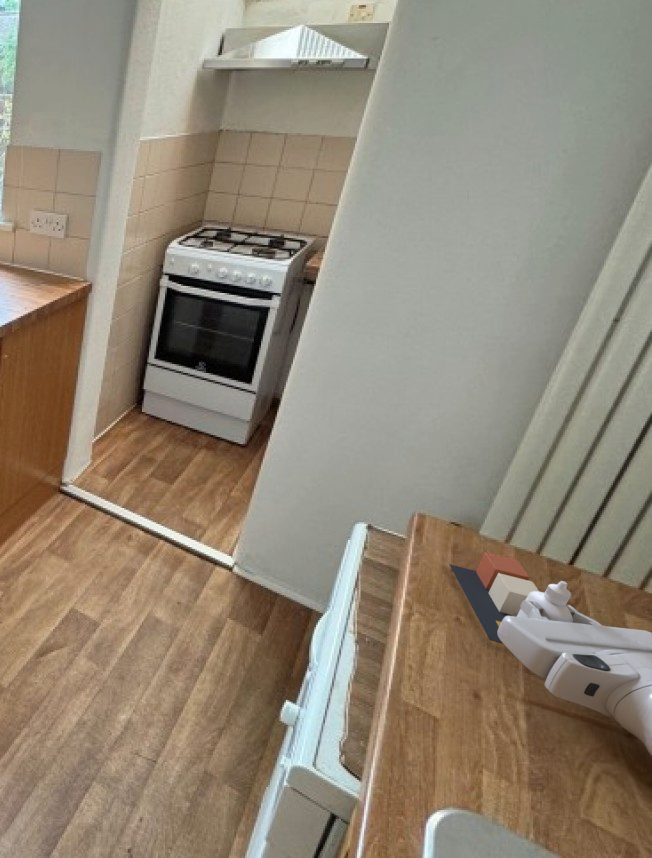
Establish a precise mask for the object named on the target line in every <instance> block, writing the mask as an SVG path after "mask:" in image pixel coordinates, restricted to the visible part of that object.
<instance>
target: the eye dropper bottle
mask: <svg viewBox="0 0 652 858" xmlns="http://www.w3.org/2000/svg"><path fill="white" fill-rule="evenodd" d="M567 587H568V583H567V582H566V581H564V580H560V581H559V582H558V583H557V584H556V583H549V584H548V585H547V587H546V589H545V591H533V592H530V593H529V595H528V596H527V598H526V601H534V602H537V603H538V605H540V606H541V607H542V608H543V609H544V610H543V612H542V613H540V614H541V616H543V617H547V618H548V619H549V620H552V621H562V622H571V623H572V622H573V618H572V615H571V613H570V611H569V609H568V608H567V607H566V605H568V602H569V600H570V599H571V597H572V593H571V592H570V590H569V589H567ZM517 617H525V618H528V615H526V614H525V613H524V612H523V611H522V610H521V609H520V611H519V613H518V615H517Z"/></svg>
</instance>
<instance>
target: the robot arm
mask: <svg viewBox="0 0 652 858" xmlns="http://www.w3.org/2000/svg"><path fill="white" fill-rule="evenodd" d="M566 607H567V608H568V609H569V611H570V613H571V615H572V618H573V622H572V623H571V622H562V621H552V620H549V619H548V618H547V617H543V616H541V614H540V613H542V612H543V610H544V609H543V608H542V607H541V606H540V605H538V603H537V602H534V601H526V600H524V601H523V602H522V604H521V605H520V608H521V610H522V611H523V612H524V613H525V614H526V615H528V618H525V617H516V616H505V617H504V618H503V620H502V622H501V623H500V626H499V628H498V632H497V634H498V637H499V639H500V640H501V641H502V643H501V644H503V645H504V647H506V649H508V650H509V652H510V653H511V654H512V655H513V656H514V657H515V658H516V659H517V660H518V661H519V662H520V663H521V664H522V665H523V666H524V667H526V669H528V670H529V671H530V672H532V673H533V674H534V675H536V676H538V677H539V678H542V679H544V680H545V681H544V687H545V688H546V689H547V691H548V692H549V693H550V694H552V696H554V697H556V698H558V699H560V700H563V701H567V702H569V703H573V704H576V705H580V706H581V707H582V706H583V707H585V708H587V709H590V710H593V711H595V712H597V713H599V714H601V715H604V716H606V717H609V718H613V719H614V720H615V721H616V723H618V724H619V725H620V726H621V727H622V728H623V729H624V730H626V731H628V733H630V734H632V735H633V736H634V737H636V738H637V739H638V740H639V741H640V742H641V743H642V745H644V747H645V749H646V750H647V752H648V753H649V754H650V756H651V757H652V632H651V631H649V630H644V629H635V628H625V627H616V626H608V625H607V626H606V625H603V624H601V623H600V622H598V621H597V620H595V619H593V618H591V617H589V616H587V615H586V614H584V613H582V612H579V611H578V610H576V608H575V607H573V606H572V605H570V604H566Z"/></svg>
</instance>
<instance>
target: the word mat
mask: <svg viewBox="0 0 652 858" xmlns="http://www.w3.org/2000/svg"><path fill="white" fill-rule="evenodd" d="M448 565H449V567H450V569H451V571H452V572H453V575H454V576H455V578H456V580H457V582H458V585H460V588H461V589H462V591H463V593H464V595H465V597H466V599H467V601H468V602H469V604H470V606H471V608H472V611H473V612H474V615H476V618H477V619H478V622H479V623H480V625H481V627H482V628H483V630H484V632H485V634H486V636H487V638H488V640H489V641H492V642H496V643H499V644H503V643H502V641H501V640H500V639H499V637H498V634H497V632H498V628H499V626H500V623H501V622H502V620H503V618H504V617H505V616H513V615H509V614H505V613H502V612H499V610H498V609H497V607H496V605H495V603H494V602H493V600H492V598H491V597H490V595H489V591H490V590H489V589H486V588H485V586H484V585H483V583H482V581H481V580H480V578H479V576H478V574H477V573H476V570H475V569H470V568H466V567H463V566H459V565H454V564H448Z"/></svg>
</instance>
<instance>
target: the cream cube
mask: <svg viewBox="0 0 652 858" xmlns="http://www.w3.org/2000/svg"><path fill="white" fill-rule="evenodd" d="M533 591H539V589H538V587H537V586H536V584H535V583H534V582H533V581H531V580H524V579H520V578H516V577H512V576H508V575H504V574H500V573H498V574H497V576H496V579H495V581H494V583H493V585H492V587H491V589H490V591H489V595H490V597H491V598H492V600H493V602H494V603H495V605H496V607H497V609H498V610H499V612H502V613H505V614H509V615H513V616H516V617H517V615H518V613H519V611H520V609H521V608H520V605H521V604H522V602H523V601H524V600H526V598H527V596H528V595H529V593H530V592H533ZM539 592H540V591H539Z"/></svg>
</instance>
